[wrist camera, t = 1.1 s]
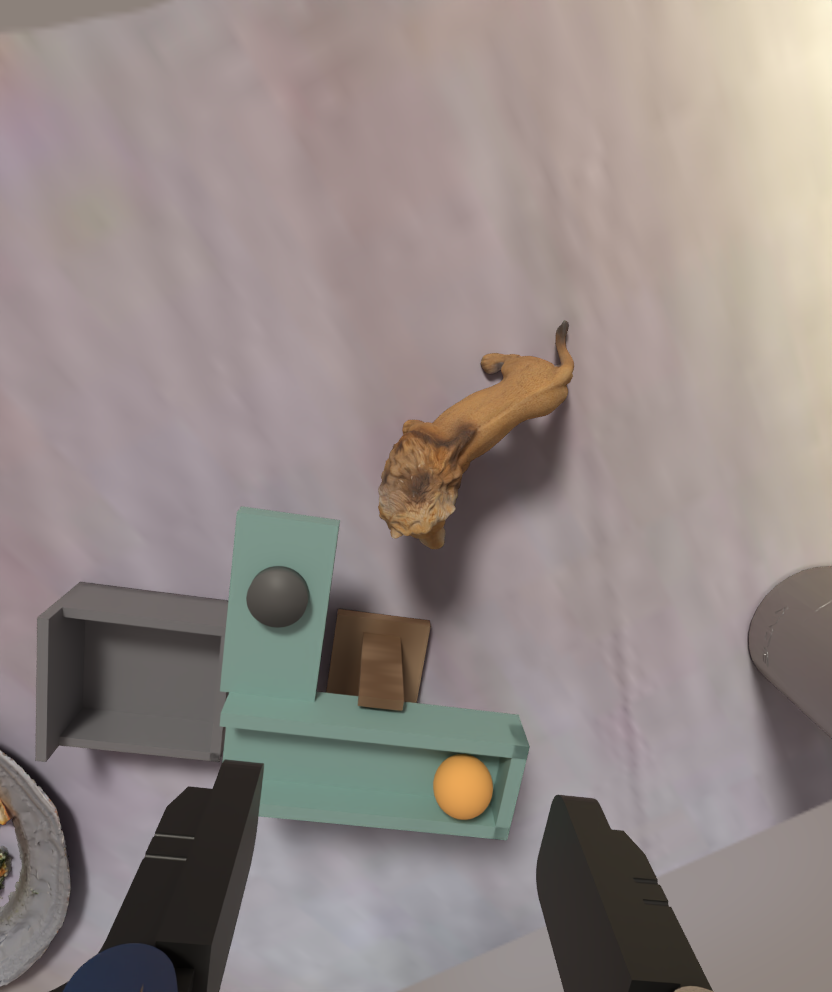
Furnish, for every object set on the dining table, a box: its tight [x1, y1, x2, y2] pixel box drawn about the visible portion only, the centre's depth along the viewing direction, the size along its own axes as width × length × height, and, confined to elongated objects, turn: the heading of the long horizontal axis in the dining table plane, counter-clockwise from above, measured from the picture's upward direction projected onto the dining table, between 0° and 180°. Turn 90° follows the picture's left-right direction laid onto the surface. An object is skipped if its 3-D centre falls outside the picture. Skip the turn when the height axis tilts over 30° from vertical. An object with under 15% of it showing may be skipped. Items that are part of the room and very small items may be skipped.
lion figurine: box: [378, 321, 574, 549], centre depth 33 cm, size 15×5×9 cm, turn 136°
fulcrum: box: [326, 609, 431, 711], centre depth 38 cm, size 6×10×8 cm, turn 171°
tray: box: [35, 582, 229, 762], centre depth 38 cm, size 10×9×5 cm
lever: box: [220, 506, 530, 840], centre depth 33 cm, size 16×16×3 cm
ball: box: [433, 754, 493, 820], centre depth 33 cm, size 3×3×3 cm
